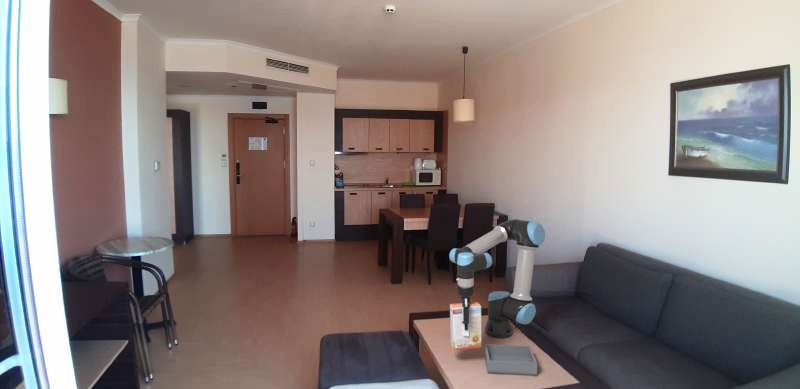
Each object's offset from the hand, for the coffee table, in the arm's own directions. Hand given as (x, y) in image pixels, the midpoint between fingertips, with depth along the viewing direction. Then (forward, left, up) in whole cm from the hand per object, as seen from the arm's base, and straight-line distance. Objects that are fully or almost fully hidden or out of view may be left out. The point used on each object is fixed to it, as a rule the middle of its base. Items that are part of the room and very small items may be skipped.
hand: (465, 332), depth 211 cm
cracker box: (0, 0, -7) cm, 7 cm away
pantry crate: (0, +21, -15) cm, 26 cm away
